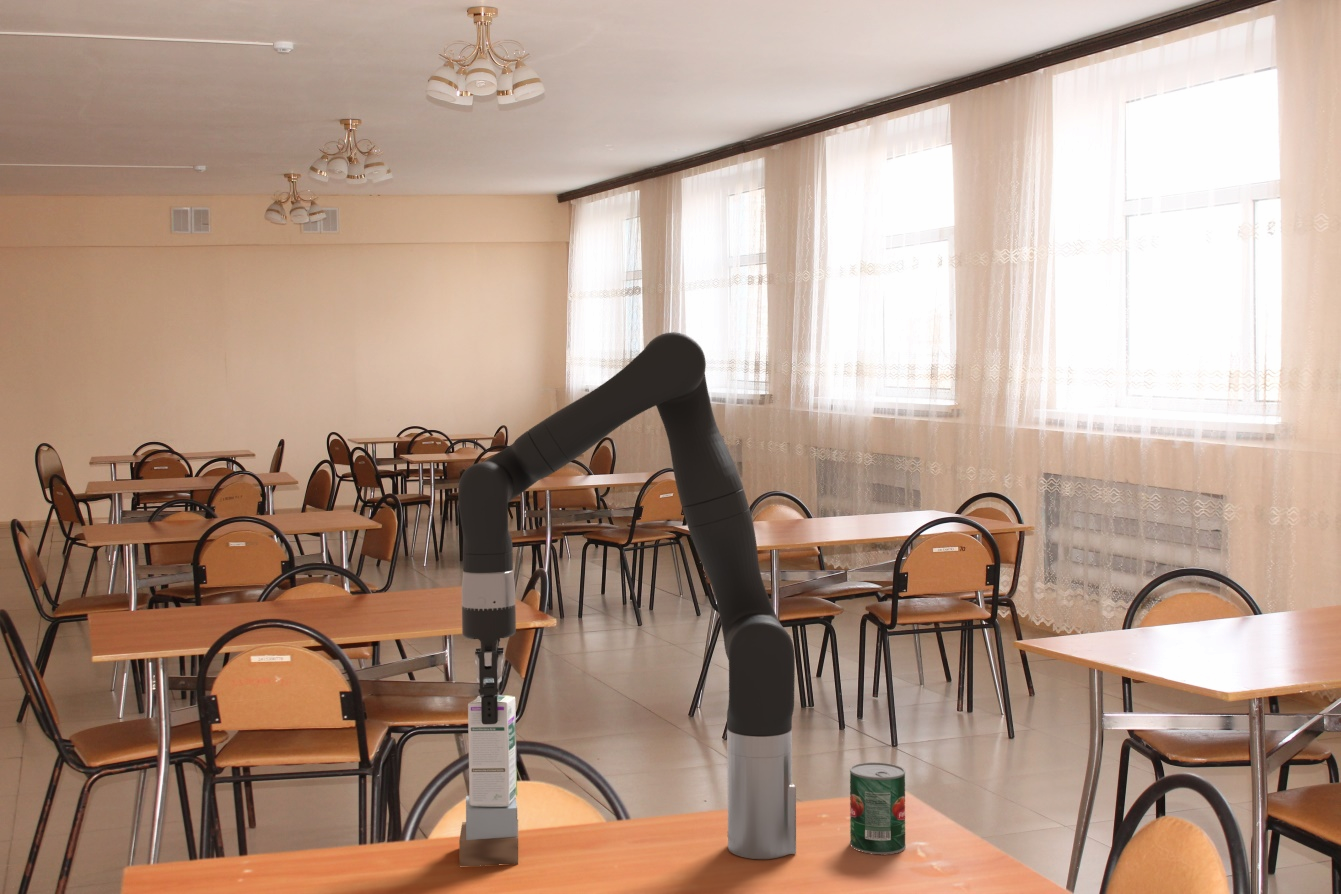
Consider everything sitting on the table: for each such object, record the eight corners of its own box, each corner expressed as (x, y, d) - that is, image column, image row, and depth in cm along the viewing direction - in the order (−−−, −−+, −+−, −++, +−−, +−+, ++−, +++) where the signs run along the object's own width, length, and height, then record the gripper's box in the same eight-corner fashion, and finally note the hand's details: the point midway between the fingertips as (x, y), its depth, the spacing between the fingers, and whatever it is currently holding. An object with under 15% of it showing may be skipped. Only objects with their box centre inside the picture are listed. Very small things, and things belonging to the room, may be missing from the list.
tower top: (515, 820, 172) (515, 793, 172) (517, 836, 165) (517, 808, 165) (466, 823, 171) (465, 796, 171) (466, 840, 164) (466, 811, 164)
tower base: (518, 846, 173) (518, 819, 173) (518, 866, 165) (517, 838, 165) (462, 849, 172) (462, 822, 172) (459, 869, 164) (459, 840, 164)
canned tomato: (841, 839, 174) (840, 764, 174) (890, 834, 176) (889, 759, 176) (864, 858, 166) (864, 779, 166) (915, 852, 168) (915, 774, 168)
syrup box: (509, 807, 165) (509, 701, 165) (467, 806, 165) (467, 701, 166) (517, 796, 170) (517, 694, 171) (476, 796, 171) (476, 694, 171)
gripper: (514, 609, 162) (516, 727, 162) (515, 595, 176) (517, 704, 177) (459, 610, 161) (461, 730, 162) (464, 596, 175) (466, 706, 176)
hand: (490, 716), depth 169 cm, fingers open, 8 cm apart
